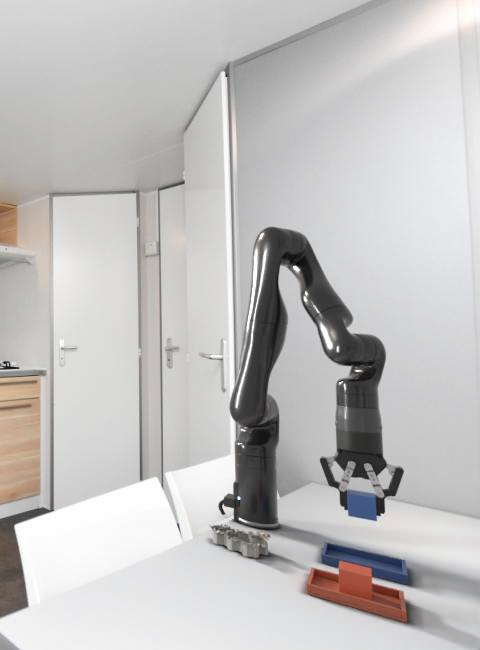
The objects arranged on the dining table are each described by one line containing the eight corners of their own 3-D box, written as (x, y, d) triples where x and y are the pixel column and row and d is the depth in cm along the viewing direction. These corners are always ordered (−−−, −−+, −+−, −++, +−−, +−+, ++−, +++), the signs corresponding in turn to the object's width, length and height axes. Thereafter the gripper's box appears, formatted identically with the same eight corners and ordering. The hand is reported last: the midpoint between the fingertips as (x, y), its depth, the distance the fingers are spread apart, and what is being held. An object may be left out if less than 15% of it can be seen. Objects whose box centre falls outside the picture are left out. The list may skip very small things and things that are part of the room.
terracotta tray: (306, 593, 85) (306, 583, 85) (311, 576, 92) (311, 566, 92) (406, 623, 76) (406, 612, 77) (403, 601, 83) (403, 590, 84)
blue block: (348, 516, 98) (347, 493, 98) (348, 510, 101) (347, 489, 101) (377, 521, 95) (375, 498, 95) (376, 515, 98) (375, 493, 99)
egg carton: (273, 555, 101) (273, 535, 102) (250, 560, 98) (250, 540, 99) (228, 536, 111) (228, 518, 111) (205, 540, 108) (205, 522, 108)
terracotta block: (339, 595, 84) (338, 568, 84) (340, 585, 87) (339, 560, 88) (372, 604, 81) (371, 577, 81) (372, 594, 84) (371, 568, 85)
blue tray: (321, 563, 98) (321, 554, 98) (324, 549, 105) (324, 541, 105) (408, 585, 89) (408, 575, 90) (405, 568, 96) (405, 560, 97)
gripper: (403, 430, 98) (407, 516, 96) (317, 422, 107) (320, 500, 105) (405, 434, 92) (410, 526, 91) (314, 426, 101) (317, 508, 100)
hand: (362, 511), depth 98 cm, fingers closed on blue block, 4 cm apart
